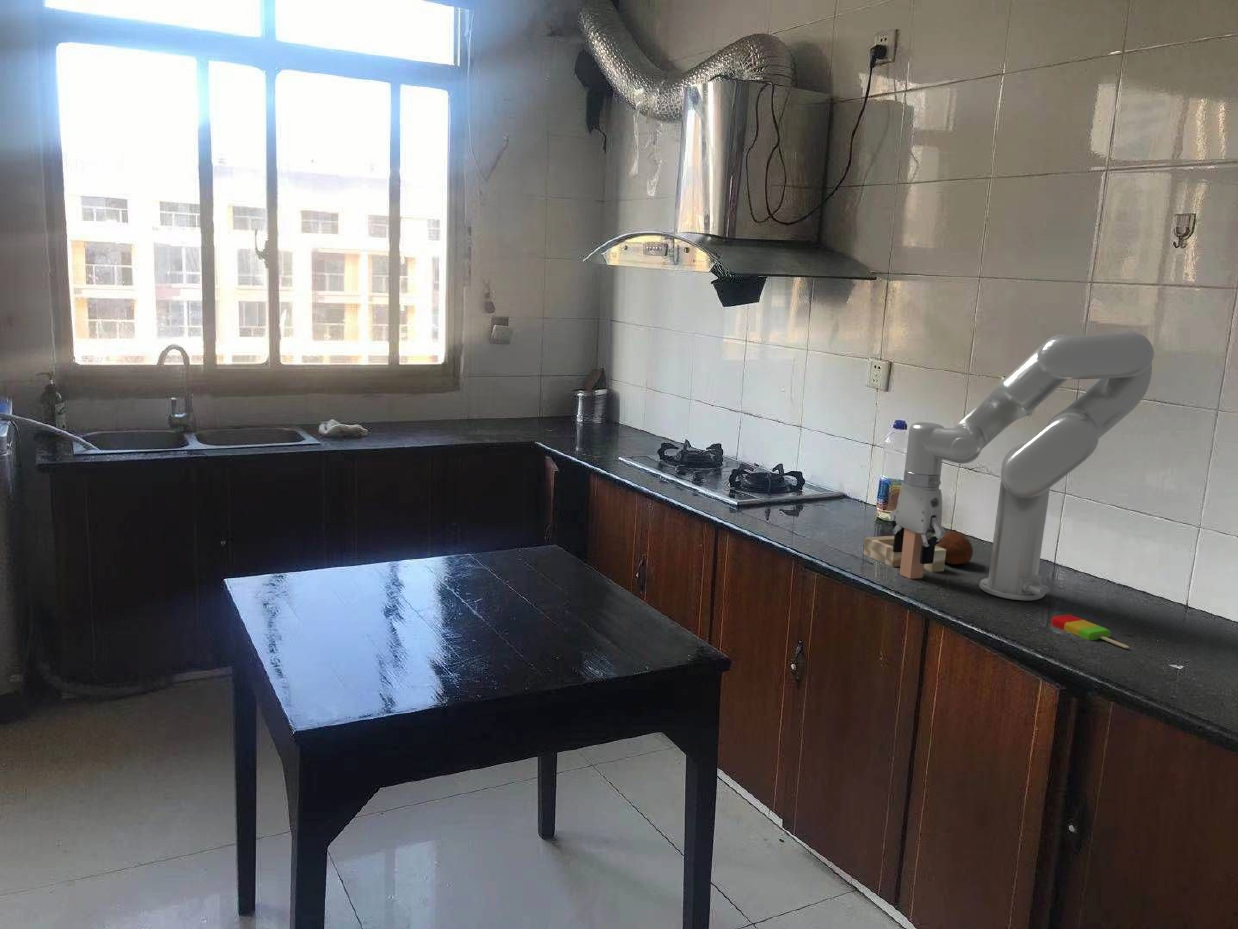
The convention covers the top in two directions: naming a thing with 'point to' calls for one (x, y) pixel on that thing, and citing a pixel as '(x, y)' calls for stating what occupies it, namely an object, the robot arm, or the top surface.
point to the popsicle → (1083, 628)
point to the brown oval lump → (956, 548)
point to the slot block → (882, 550)
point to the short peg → (937, 560)
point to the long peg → (911, 555)
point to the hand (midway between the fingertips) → (912, 557)
